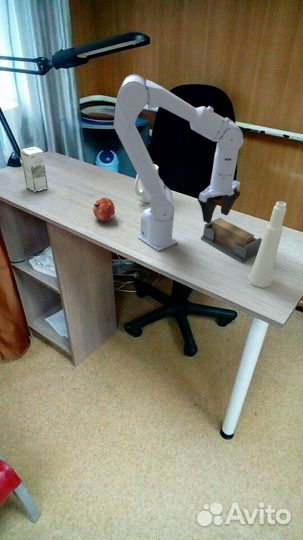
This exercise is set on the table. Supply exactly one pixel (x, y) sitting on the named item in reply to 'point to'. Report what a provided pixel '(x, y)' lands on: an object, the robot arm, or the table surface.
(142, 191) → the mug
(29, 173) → the syrup box
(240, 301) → the table surface
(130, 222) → the table surface
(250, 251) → the brackets
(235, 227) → the brown wooden block
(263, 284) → the cosmetic bottle
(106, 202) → the pomegranate
